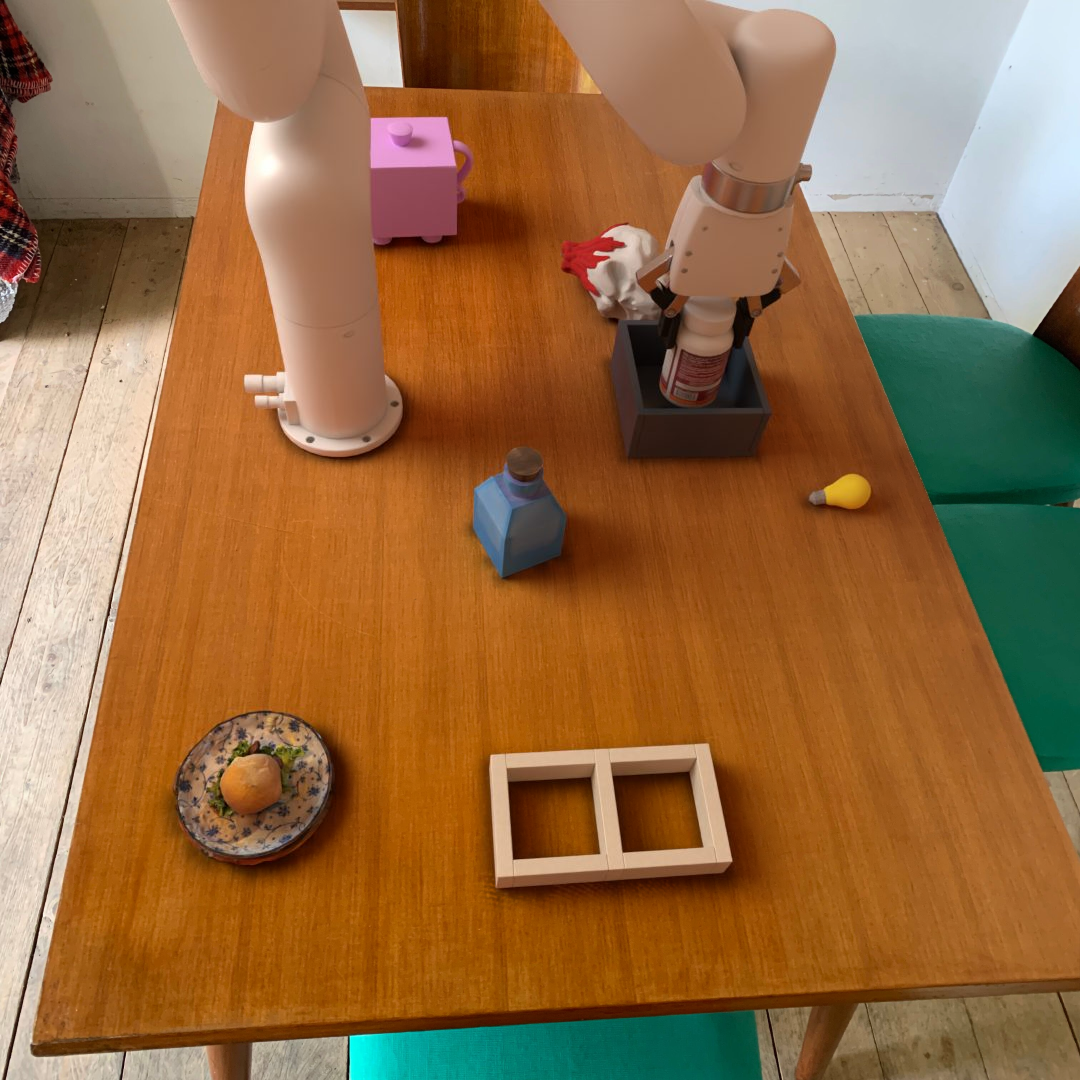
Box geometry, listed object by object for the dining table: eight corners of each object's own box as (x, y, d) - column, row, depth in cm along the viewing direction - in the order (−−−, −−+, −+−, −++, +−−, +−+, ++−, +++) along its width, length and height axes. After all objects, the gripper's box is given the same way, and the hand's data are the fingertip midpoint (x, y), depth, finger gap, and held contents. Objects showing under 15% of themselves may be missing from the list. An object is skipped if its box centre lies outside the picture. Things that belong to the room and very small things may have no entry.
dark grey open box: (627, 458, 95) (637, 414, 89) (610, 365, 102) (618, 319, 97) (754, 456, 96) (772, 413, 91) (728, 364, 104) (743, 319, 99)
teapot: (467, 195, 118) (469, 101, 108) (477, 244, 113) (479, 150, 103) (309, 200, 115) (295, 103, 105) (310, 251, 110) (296, 154, 99)
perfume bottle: (501, 578, 85) (508, 498, 75) (473, 528, 88) (475, 446, 78) (560, 555, 87) (574, 475, 77) (530, 508, 90) (540, 424, 80)
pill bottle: (728, 398, 96) (756, 312, 87) (682, 419, 94) (706, 333, 85) (691, 363, 99) (715, 276, 90) (646, 382, 97) (666, 295, 88)
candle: (661, 344, 104) (539, 316, 108) (690, 286, 110) (573, 261, 114) (667, 278, 97) (536, 251, 101) (697, 220, 103) (573, 196, 107)
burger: (336, 713, 76) (326, 672, 70) (335, 858, 69) (323, 826, 63) (185, 725, 74) (161, 684, 68) (169, 874, 68) (141, 843, 62)
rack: (496, 888, 69) (497, 877, 66) (489, 768, 74) (490, 754, 72) (723, 873, 71) (732, 861, 68) (700, 757, 76) (708, 743, 74)
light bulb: (871, 509, 93) (877, 498, 90) (811, 520, 94) (815, 509, 91) (863, 478, 94) (869, 466, 91) (804, 489, 95) (807, 477, 92)
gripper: (834, 153, 80) (775, 314, 94) (639, 149, 78) (610, 314, 92) (859, 206, 75) (793, 365, 90) (653, 203, 73) (620, 367, 88)
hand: (701, 338), depth 91 cm, fingers closed on pill bottle, 6 cm apart
